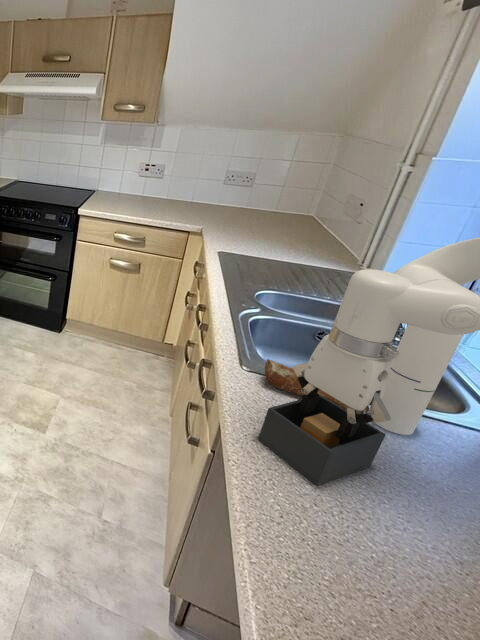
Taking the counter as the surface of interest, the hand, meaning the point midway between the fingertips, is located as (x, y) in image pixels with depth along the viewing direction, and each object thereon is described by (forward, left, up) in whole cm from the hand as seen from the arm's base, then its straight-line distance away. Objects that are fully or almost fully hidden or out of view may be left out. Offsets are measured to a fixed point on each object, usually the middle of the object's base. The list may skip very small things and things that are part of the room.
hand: (324, 422), depth 77 cm
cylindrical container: (-25, -1, -7) cm, 26 cm away
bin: (0, 0, -7) cm, 7 cm away
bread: (-17, -12, -7) cm, 22 cm away
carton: (0, 0, -6) cm, 6 cm away
